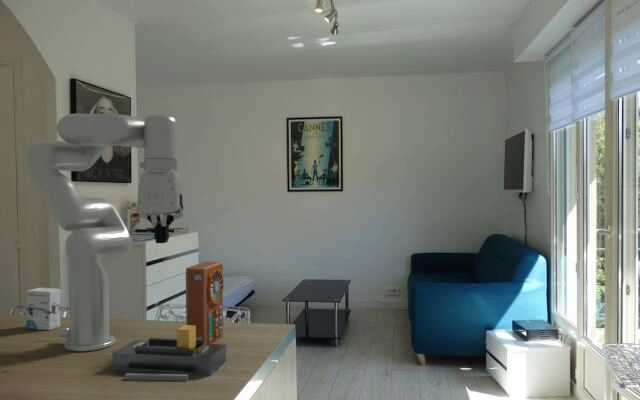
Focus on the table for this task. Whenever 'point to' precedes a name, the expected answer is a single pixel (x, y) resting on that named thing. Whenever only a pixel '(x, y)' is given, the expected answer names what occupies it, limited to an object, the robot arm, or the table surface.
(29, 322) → the ink box
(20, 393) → the table surface
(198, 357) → the slider track
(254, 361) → the table surface
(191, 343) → the yellow block
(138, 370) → the dark grey long bar
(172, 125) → the robot arm
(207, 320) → the control panel
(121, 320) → the table surface
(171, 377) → the grey square bar
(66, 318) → the table surface
